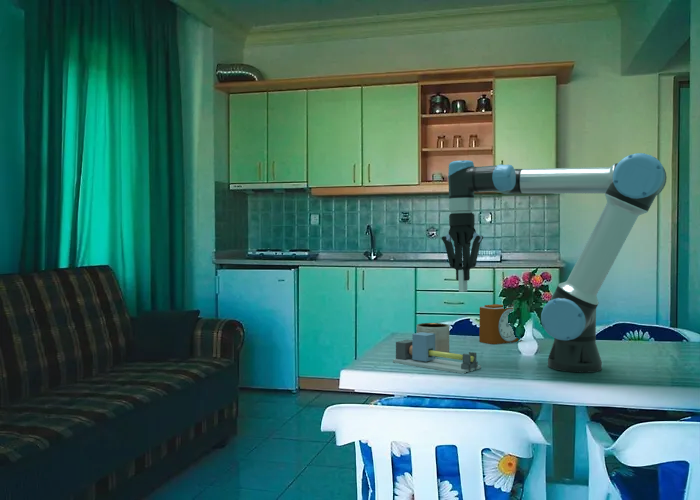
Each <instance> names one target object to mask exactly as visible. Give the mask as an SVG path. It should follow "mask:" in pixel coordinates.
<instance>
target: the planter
mask: <svg viewBox="0 0 700 500" xmlns="http://www.w3.org/2000/svg"><path fill="white" fill-rule="evenodd" d="M420 332H424V333H432V334H435V351H440V352H447V353H450V325H449V324H446V323H441V322H440V323H439V322H424V323H422V322H421V323H418V324H416V333H420ZM435 358H438V357H437V356H435Z"/></svg>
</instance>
